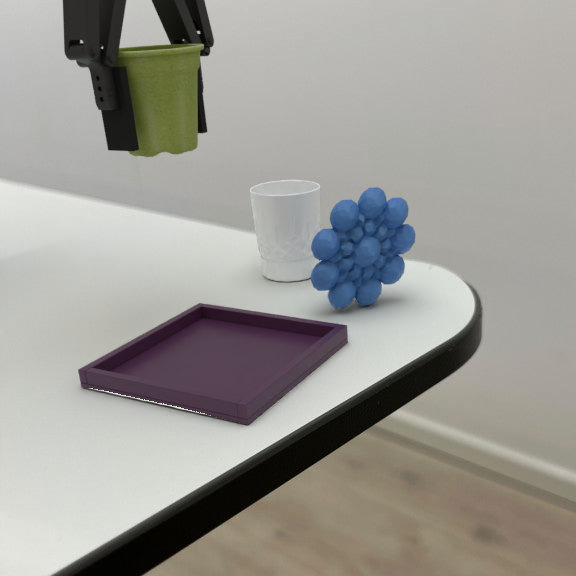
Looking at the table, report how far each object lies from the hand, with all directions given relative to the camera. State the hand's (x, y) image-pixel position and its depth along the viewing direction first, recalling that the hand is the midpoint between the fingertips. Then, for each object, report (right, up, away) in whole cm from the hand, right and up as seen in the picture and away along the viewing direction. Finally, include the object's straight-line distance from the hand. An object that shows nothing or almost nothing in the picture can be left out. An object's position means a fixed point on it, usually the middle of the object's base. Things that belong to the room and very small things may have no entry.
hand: (160, 140), depth 68 cm
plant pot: (0, -1, +1) cm, 1 cm away
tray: (+6, -20, -1) cm, 21 cm away
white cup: (+10, -9, +22) cm, 26 cm away
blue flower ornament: (+18, -14, +12) cm, 25 cm away
